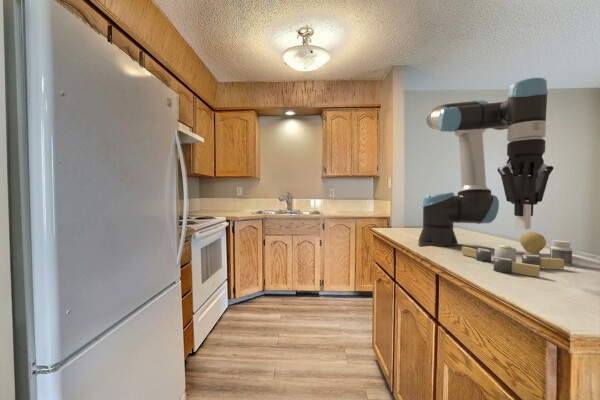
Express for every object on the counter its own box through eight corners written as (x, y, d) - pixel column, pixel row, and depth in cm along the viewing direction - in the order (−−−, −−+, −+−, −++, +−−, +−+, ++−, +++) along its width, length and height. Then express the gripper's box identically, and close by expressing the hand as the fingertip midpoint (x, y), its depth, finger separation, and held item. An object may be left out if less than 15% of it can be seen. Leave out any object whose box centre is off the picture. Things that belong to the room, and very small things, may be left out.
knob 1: (494, 261, 79) (494, 250, 79) (485, 262, 78) (485, 251, 78) (467, 254, 88) (467, 244, 88) (458, 255, 87) (458, 245, 87)
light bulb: (518, 258, 88) (518, 230, 87) (543, 261, 84) (543, 231, 84) (520, 262, 83) (521, 232, 82) (547, 265, 79) (548, 234, 79)
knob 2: (492, 271, 70) (492, 258, 69) (494, 267, 72) (494, 255, 72) (539, 279, 63) (539, 265, 63) (539, 275, 66) (539, 261, 66)
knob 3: (527, 268, 71) (527, 256, 71) (518, 265, 75) (518, 253, 75) (567, 271, 69) (568, 258, 69) (557, 267, 73) (557, 255, 72)
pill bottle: (576, 270, 74) (577, 242, 73) (557, 269, 75) (558, 242, 74) (563, 266, 78) (563, 239, 78) (545, 265, 79) (546, 239, 79)
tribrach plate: (459, 260, 85) (460, 239, 85) (521, 264, 81) (522, 241, 80) (484, 278, 68) (484, 251, 68) (565, 283, 63) (566, 255, 63)
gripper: (512, 138, 62) (509, 230, 63) (565, 137, 62) (562, 230, 63) (490, 143, 70) (488, 226, 71) (537, 142, 69) (535, 226, 70)
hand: (523, 228), depth 67 cm, fingers closed
